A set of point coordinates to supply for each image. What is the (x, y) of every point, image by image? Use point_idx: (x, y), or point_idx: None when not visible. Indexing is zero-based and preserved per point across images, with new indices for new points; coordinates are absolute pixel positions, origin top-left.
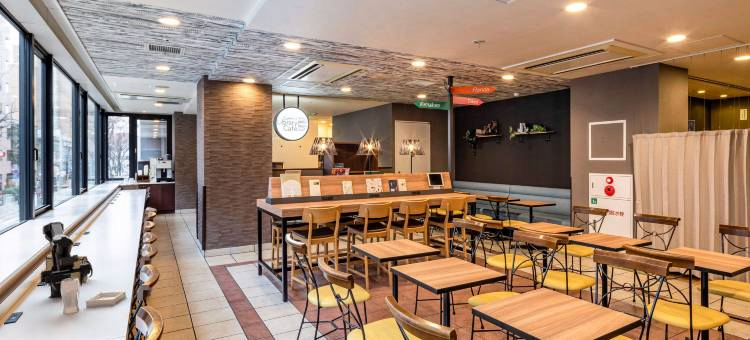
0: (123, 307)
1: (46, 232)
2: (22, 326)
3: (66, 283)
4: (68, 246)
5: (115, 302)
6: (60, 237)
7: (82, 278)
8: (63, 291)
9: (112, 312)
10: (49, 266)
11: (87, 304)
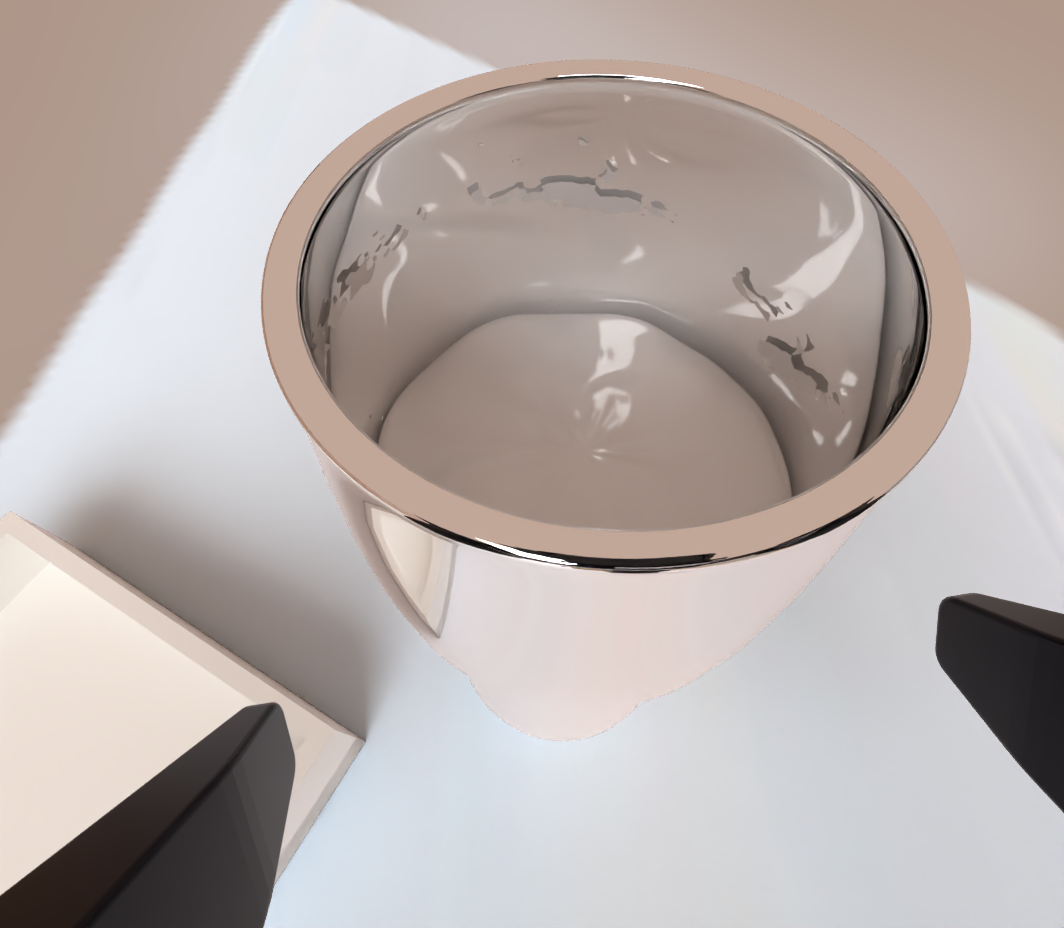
0: (47, 399)
1: None
2: (1000, 434)
3: (680, 138)
4: None
5: (12, 589)
6: None
7: (23, 889)
8: (711, 349)
9: (195, 317)
10: None
11: (336, 724)
